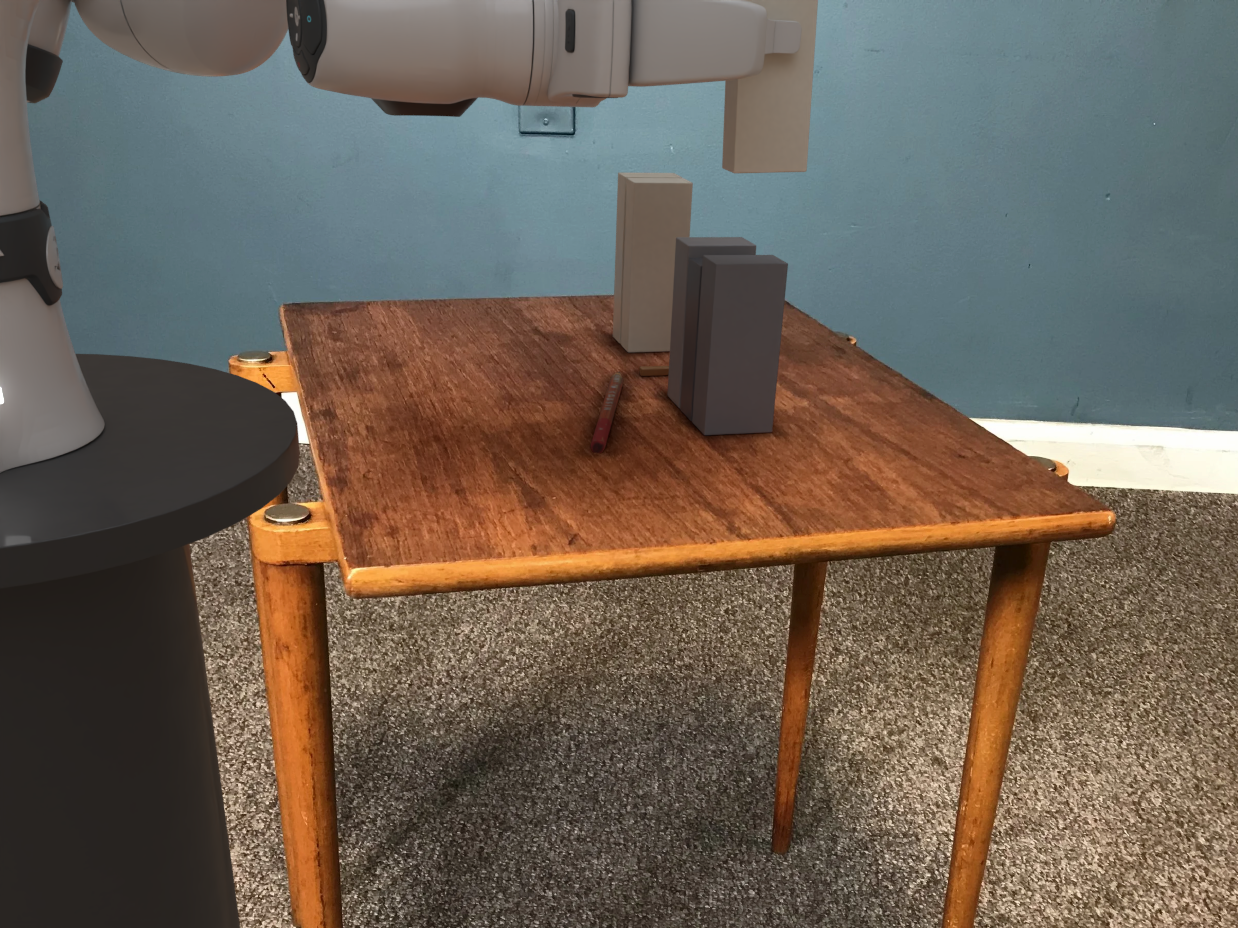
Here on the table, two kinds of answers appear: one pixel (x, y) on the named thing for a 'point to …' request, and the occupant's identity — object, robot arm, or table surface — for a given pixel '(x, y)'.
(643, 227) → the white books
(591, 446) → the pencil
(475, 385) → the table surface
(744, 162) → the white book
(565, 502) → the table surface
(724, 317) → the grey books
